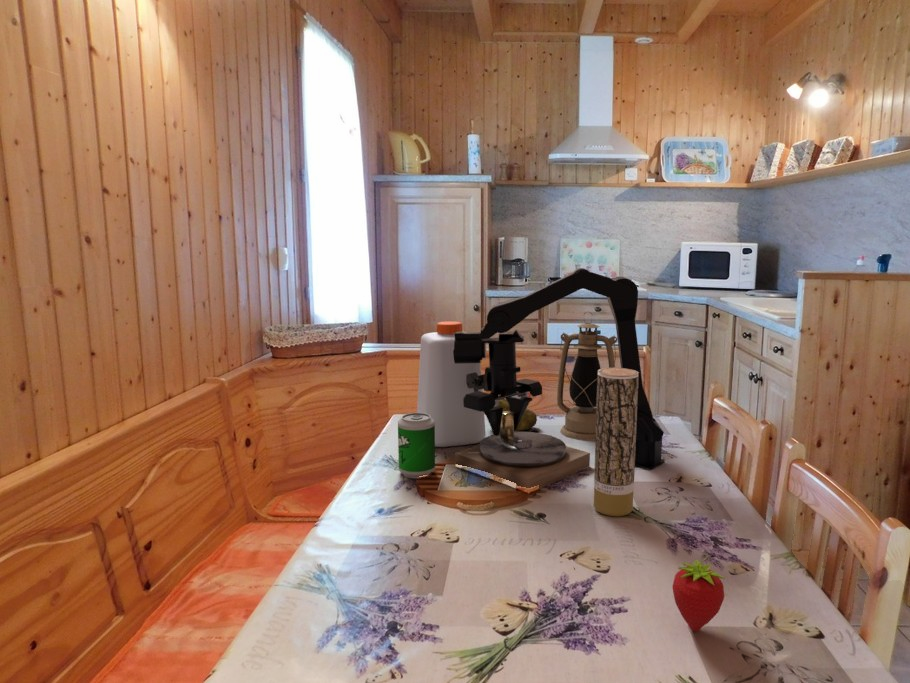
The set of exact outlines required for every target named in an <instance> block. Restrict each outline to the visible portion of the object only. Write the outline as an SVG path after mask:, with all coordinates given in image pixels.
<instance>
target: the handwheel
mask: <svg viewBox="0 0 910 683" xmlns="http://www.w3.org/2000/svg"><path fill="white" fill-rule="evenodd" d="M479 445H480V454H481V456H482V457H483V458H485V459H487V460H489V461H491V462H494V463H497V464H501V465H506V466H514V467H539V466H546V465H550V464H554V463H557V462H559V461H561V460H562V459H564V457H565V456H566V446H567V445H566V442H564V441H563V440H561V439H560V438H558V437H555V436H552V435H549V434H545V433H539V432H534V431H533V432H532V431H514V413H513V412H509V411H503V413H502V420H501V427H500V432H499V436H495V435H494V434H491V435H488V436H485V438H484V439H483V440H481V442H479Z"/></svg>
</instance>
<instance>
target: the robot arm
mask: <svg viewBox="0 0 910 683" xmlns="http://www.w3.org/2000/svg"><path fill="white" fill-rule="evenodd" d="M583 289H584V290H586V291H590V292H592V293H595V294H598V295H601V296H603V297H606V298H607V303H608V304H609V309H610V312H611V315H612V316H613V319H614V323H615V329H616V338H617V347H618V353H619V362H620V368H626V369H632V370H635V371H637V372H638V375H639V378H638V401H637V425H636V449H635V467H639V468H642V469H646V470H653V469H655V468H656V467H658V466H661V465H663V464H665V463H666V462H665V461H666V460H665V459H664V458H662V452H663V451H662V450H663V436H664V431H663V429H662V428H661V425H660V424H659V423H658V422H657V420H656V418H654V415H653V412H652V409H651V405H650V403H649V399H648V397H647V393H646V392H645V388H644V386H643V377H642V369H641V362H640V361H641V360H640V352H639V344H638V336H637V328H636V327H637V326H636V317H637V310H638V299H639V289H638V285H637V284H636V283H635V282H634V281H633V280H632V279H629V278H628V277H624V276H615V277H613V278H611V277H608V276H606V275H602V274H599V273H596V272H592V271H589V270H588V269H587V268H583V267H579V268H576V269H575V270H574V271H572V272H570V273H569V274H566V275H565V276H563V277H560V278H559V279H556V280H555V281H553V282H551V283H548V284H547V285H544V286H542V287H541V288H539V289H538V288H537V289H536V290H534V291H533V292H530V293H528V294H526V295H524V296H520V297H517V298H512V299H511V298H510V299H509V300H506V301H505V300H504V301H501V302H498V303H496V304H494V305H493V306H491V308H490V309H489V311H488V312H487V316H486V323H485V325H484V326H482V327H481V328H480V331H478V332H477V331H475V332H472V331H471V332H470V331H469V332H466V331H462V332H456V333H455V341H454V349H453V356H454V362H455V364H463V363H481V364H482V361H483V359H486V358H487V344H488V359H489V360H488V361H489V364H488V365H489V366H486V367H485V368H484V373H483V374H481V375H479V376H478V374H477V373H476V372H474V373H470V374H467V375H466V383H467V387H468V388H469V389H470V388H473V389H474V392H472V393H469V394H466V395H465V396H464V398H463V403H464V407H465V408H469V409H473V410H476V411H480V412H481V411H483V412H484V416H486V420H487V421H488V424H489V425H490V426H489V427H490V428H491V430H492V433H493V435H495V436H499V432H500V427H501V420H502V413H503V407H500V406H499V404H498V400H501V399H506V400H507V402H508V403H509V408H510V412H513V413H514V430H516V429H517V427H518V424H519V422H520V420H521V418H522V416H523V414H524V412H525V410H526V408H527V409H528V406H529V405H530V403H531V402H532V401H533V398H532V397H537V396H540V395H543V385H542V384H541V382H540V381H538V380H533V379H530V378H529V379H527V378H523V379H519V380H517V377H518V376H517V374H518V373H520V372H521V366H517V352H516V351H517V348H516V346H517V345H516V343H523V342H525V336H524V335H522V334H521V333H520V332H519V331H518V329H515V330H514V331H513V332H512V333H507V332H509V331H510V330H512V329H513V328H514V327H516V326H517V325H519V323H522V321H524V320H525V319H526V318H528V317H529V316H531V315H532V314H533V313H535V312H537V311H539V310H541V309H543V308H546V307H547V306H549V305H551V304H553V303H555V302H557V301H560V300H562V299H563V298H565V297H568V296H571V295H572V294H573V293H576V292H577V291H580V290H583ZM465 332H466V333H465ZM497 333H498V337H493V336H495V335H496V334H497ZM480 389H482V390H483V392H480V391H478V390H480ZM487 392H489V393H487ZM528 392H529V394H530V395H531V396H532V397H528V396H529V394H528Z"/></svg>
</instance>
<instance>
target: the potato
mask: <svg viewBox="0 0 910 683" xmlns="http://www.w3.org/2000/svg"><path fill="white" fill-rule="evenodd" d="M498 404H499V406H500V407H503V411H509V412H510V408H509V403H508V402H507V400H506V398H505V399H501V400H498ZM537 422H538V417H537V414H536V413H535V411H533V410H531V409H530V408H528V407H527V408H526V410H525V412H524V414H523V416H522V418H521V420H520V422H519V424H518V427H517V429H516V430H514V432H523V431H526V430H529V429H533V427H535V426H536V424H537Z"/></svg>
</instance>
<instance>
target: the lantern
mask: <svg viewBox="0 0 910 683" xmlns="http://www.w3.org/2000/svg"><path fill="white" fill-rule="evenodd" d="M586 313H587V311H585V312H584V313H583V315H585V314H586ZM589 313H590V314H591V315H593V313H592V312H591V311H589ZM585 321H586V320H585V319H583V323H581V324H578V325H577V327H578V328H579V330H578V331H579V333H572V334H569V335H568V334H567V333H566V332H562V334H561V335H560V339H561V341H560V342H561V343H560V351H561V357H560V362H559V363H560V364H559V370H558V381H557V393H556V394H557V395H556V396H557V397H556V400H557V402H556V403H557V406H558V407H559V409H560V410H561V411H563V412H565V413H566V414H565V417H564V419H565V420H564V421H565V422H564V425H563V426H562V427H561V428H560V434H562V435H563V436H565V437H567V438H570V439H574V440H582V441H595V439H596V407H597V375H598V370H599V369H602V368H601V364H600V361H599V354H598V349H600V350H601V349H602V348H603V347H602V345H600V344H598V342H602V343H604V344H605V349H606V353H607V360H608V368H616V360H617V352H616V344H617V343H618V339H617V336H615V335H614V334H613V336H610V337H609V338H608V336H605V335H600V334H598V329H599V328H600V325H597V324H595V323H593V320H591V322H585ZM582 329H584V330H582ZM592 329H594V331H592ZM574 340H575V341H578V342H577V344H574V345H573V348H575V349H577V354H576V355H577V356H576V360H575V361H574V366H573V370H572V372H571V373H570V378H569V374H568V372H567V369H566V366H567V360H568V354H569V349H570V345H571V342H572V341H574ZM562 344H563V345H562ZM613 345H614V346H613ZM613 347H614V349H613ZM565 374H566V377H567V378H568V381H569V389H568V390H569V396H570V399H571V400H572V403H571V402H570V400H566V399H564V383H565ZM564 401H567V402H569V404H570V405H571V406H572V408H571V407H568V406H566V405H565V404H564ZM573 405H574V407H573Z"/></svg>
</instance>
